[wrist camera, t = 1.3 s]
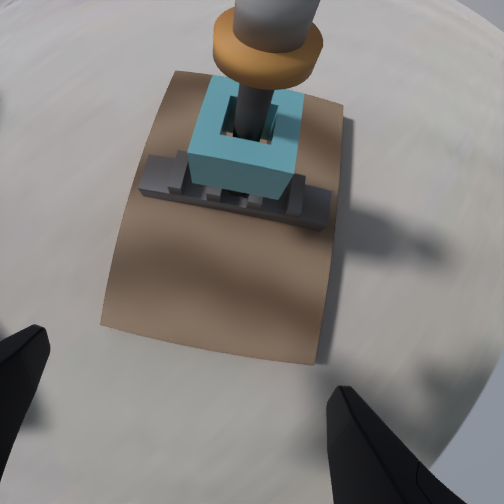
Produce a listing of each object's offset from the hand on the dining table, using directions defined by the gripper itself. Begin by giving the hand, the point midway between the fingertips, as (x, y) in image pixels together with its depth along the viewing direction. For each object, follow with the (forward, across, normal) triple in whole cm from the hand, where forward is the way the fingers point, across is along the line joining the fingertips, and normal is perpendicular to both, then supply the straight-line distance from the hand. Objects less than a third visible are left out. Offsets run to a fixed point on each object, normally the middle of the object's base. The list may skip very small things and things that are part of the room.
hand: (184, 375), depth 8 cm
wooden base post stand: (+15, 0, -1) cm, 15 cm away
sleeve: (+9, 0, -5) cm, 10 cm away
